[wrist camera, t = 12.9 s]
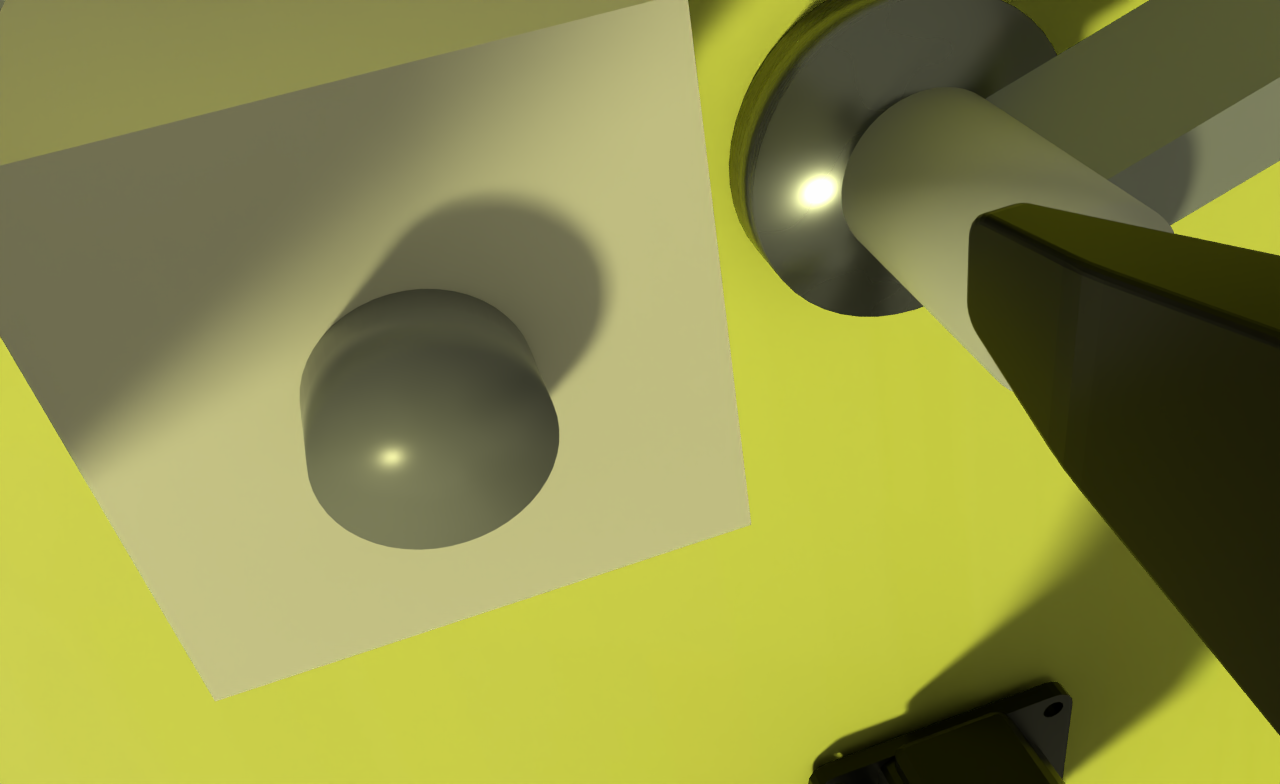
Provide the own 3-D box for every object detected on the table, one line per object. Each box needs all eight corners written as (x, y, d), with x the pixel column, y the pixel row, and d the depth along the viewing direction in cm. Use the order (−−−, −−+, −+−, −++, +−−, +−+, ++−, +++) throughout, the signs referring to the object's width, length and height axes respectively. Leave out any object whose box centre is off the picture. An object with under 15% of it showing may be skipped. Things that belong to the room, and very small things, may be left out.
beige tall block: (584, 216, 16) (805, 590, 10) (203, 323, 16) (200, 798, 9) (502, -200, 13) (756, -14, 7) (16, -92, 12) (-178, 224, 6)
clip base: (1021, 238, 19) (1055, 265, 19) (744, 321, 19) (768, 354, 18) (1041, -65, 16) (1081, -47, 16) (712, 20, 16) (738, 42, 15)
